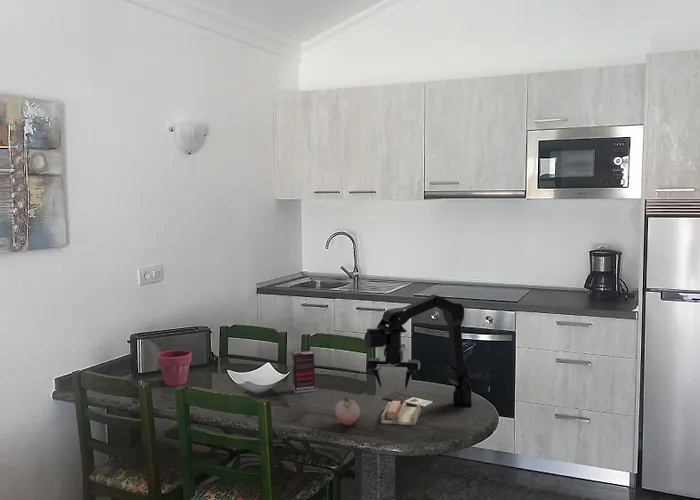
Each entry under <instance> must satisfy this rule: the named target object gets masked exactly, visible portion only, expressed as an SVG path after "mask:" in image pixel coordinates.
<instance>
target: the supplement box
mask: <svg viewBox="0 0 700 500" xmlns="http://www.w3.org/2000/svg"><path fill="white" fill-rule="evenodd" d="M291 365H292V366H291V369H292V371H291V372H292V390H293V392H294V393H295V394H298V393H301V394H302V393H306V392H307V393H308V392H315V391H316V374H315V353H314V352H313V351H312V350H307V351H297V352H295V351H294V352H291Z"/></svg>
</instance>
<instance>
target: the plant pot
mask: <svg viewBox="0 0 700 500" xmlns="http://www.w3.org/2000/svg"><path fill="white" fill-rule="evenodd" d="M192 355H193V354H192V352H191V351H189V350H182V349H178V350H177V349H174V350H166V351H162V352H160V353H157V357H156V359H157V365H158V366H159V368H160V372H161V374H162V379H163V383H164V385H166V386H180V385H184V384H186V383H187V379H188V374H189V371H190V365H191V364H190V363H191V362H192V359H193V357H192Z"/></svg>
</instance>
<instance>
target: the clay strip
mask: <svg viewBox="0 0 700 500" xmlns="http://www.w3.org/2000/svg"><path fill="white" fill-rule="evenodd" d="M391 402H392V403H391V405H390V407H389V409H388V411H387V418H392V419H396V417H397V414H398V412H399V410H400V408H401V406H402V404H401V401H391Z"/></svg>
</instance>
